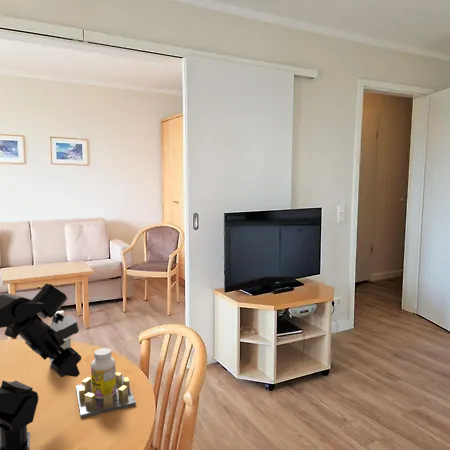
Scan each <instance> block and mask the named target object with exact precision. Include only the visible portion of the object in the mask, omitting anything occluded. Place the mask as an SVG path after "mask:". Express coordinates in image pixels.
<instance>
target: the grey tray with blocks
mask: <svg viewBox="0 0 450 450" xmlns="http://www.w3.org/2000/svg"><path fill="white" fill-rule="evenodd" d="M75 392H76V397H77V398H76V399H77V402H78V403H77V404H78V408H79V409H78V410H79V414H80V419H84V418H89V417H92V416H96V415H100V414H104V413H105V414H107V413H109V412H110V413H111V412H114V411H117V410H122V409H126V408H132V407H134V406H137V402H136V400H135V397H134V395H133V392H132V390H131V388H130V379H129V376H126V375H123V372H118V371H116V393H115V394H114V395H113V394H112V392H111V393H106V394H103V399H97V398H96V397H95V394H92V377H86V378H84V379H83V380H82V381H81V384H77V385H75Z"/></svg>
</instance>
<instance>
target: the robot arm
mask: <svg viewBox="0 0 450 450" xmlns="http://www.w3.org/2000/svg"><path fill="white" fill-rule="evenodd" d="M66 301H68V296H67V295H66V293H64V292H62V291H61V290H60V289H58V288H56V287H54V286H53V284H51V283H45V284H44V285H43V286H42V288H41V289H40V291H38V292H37V294H36V295H35V296H34V297H33V298H32V299H30V298H27V297H23V296H20V295H16V294H12V293H7V292H6V293H2V294H0V329H1V328H6V329H5V330H4V331H5V332H4V336H6V337H9V338H11V339H16V338H17V337H18V336H20V337H21V338H22V339H23V340H24V343H25V344H26V345H27V346H28V347H29V348H30V349H31V350H32V351H33V352H35V354H37V355H39V356H40V358H42V359H43V360H45V361H46V359H50V358H51V359H54V360H53V361H52V363H51V366H50V368H51V370H53V371H54V372H55V373H56V374H57V375H58V376H59V377H60V378H64V377H66V376H67V377H73V378H77V377H79V376H80V374H81V372H80V370H79V368H78V364H79V363H80V362H81V360H82V355H80V354H79V352H77V351H76V350H75V349H74V348H72V346H71V347H69V348H66V349H65V350H64V349H63V348H62V347H61V346H62V345H63V344H64V343H65V341H64V340H63V339H66V338H68V337H69V336H70V337H71V336H73V335H76V334H78V333H79V331H80V330H79V326H78V322H77V320H76V319H75V318H74V317H73V316H71V315H68V314H64V316H63V315H62V314H60V313H59V312H58V313H56V312H57V311H60V309H61V308H62V306H63V305H64V304H65V303H66ZM55 313H56V314H55ZM47 318H50V319H51V323H50V325H48V323H46V322H45V321H44V320H42V319H47ZM60 345H61V346H60ZM59 351H60V352H61V353H59ZM1 381H2V382H1V385H0V450H30V446H31V445H30V444H31V443H30V442H31V439H30V438H31V433H30V432H29V431H28V425H29V424H31V423H33V422H34V418H35V415H36V410H37V407H38V403H39V395H38V392H37V391H35V390H33V387H31V386H30V385H27V384H25V383H22V382H20V381H18V380H13V381H7V380H1Z"/></svg>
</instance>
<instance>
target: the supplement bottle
mask: <svg viewBox="0 0 450 450" xmlns="http://www.w3.org/2000/svg"><path fill="white" fill-rule="evenodd" d="M93 356H94V359H93V360H92V361H91V363H90V367H91V368H90V369H91V370H90V371H91V372H90V373H91V374H90V375H91V382H92V394H95V397H96V398H97V399H103V394H106V393H111V392H112V394H113V395H114V394H115V393H116V372H117V371H116V360H115V358H114V357H112V349H111V348H108V347H101V348H97V349H96V350H95V351H94V353H93Z"/></svg>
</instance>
